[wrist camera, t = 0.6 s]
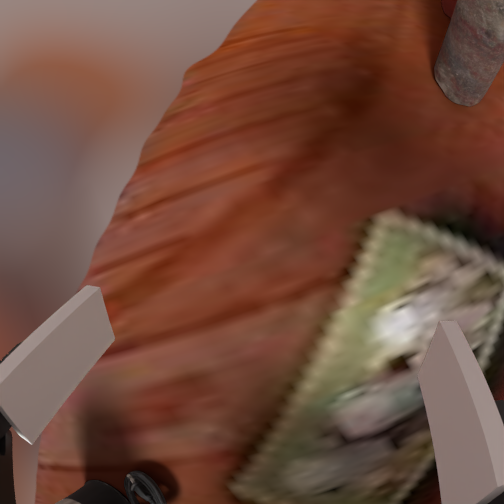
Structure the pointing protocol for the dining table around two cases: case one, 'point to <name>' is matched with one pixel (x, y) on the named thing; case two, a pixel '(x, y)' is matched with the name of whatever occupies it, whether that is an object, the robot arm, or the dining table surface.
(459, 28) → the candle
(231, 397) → the dining table surface
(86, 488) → the milk frother
